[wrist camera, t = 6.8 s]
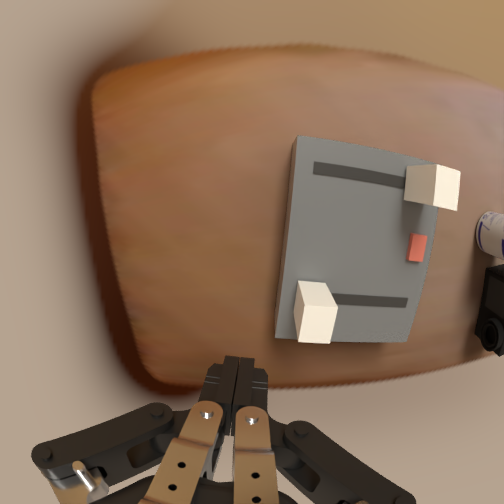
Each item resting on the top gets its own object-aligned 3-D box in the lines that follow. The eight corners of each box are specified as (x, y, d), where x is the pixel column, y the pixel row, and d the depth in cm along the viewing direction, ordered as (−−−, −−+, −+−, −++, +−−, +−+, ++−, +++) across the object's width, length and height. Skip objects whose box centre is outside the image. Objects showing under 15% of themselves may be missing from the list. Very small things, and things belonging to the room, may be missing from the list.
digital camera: (480, 268, 28) (512, 285, 21) (503, 262, 27) (534, 278, 20) (468, 335, 30) (493, 360, 23) (491, 327, 29) (516, 348, 23)
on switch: (428, 171, 21) (460, 171, 16) (425, 204, 21) (456, 210, 16) (406, 166, 21) (436, 164, 16) (403, 199, 21) (433, 205, 17)
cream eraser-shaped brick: (325, 282, 24) (338, 307, 19) (319, 314, 24) (329, 343, 19) (298, 280, 24) (304, 305, 19) (293, 312, 24) (298, 342, 20)
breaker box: (417, 166, 25) (445, 165, 20) (390, 320, 30) (408, 344, 24) (292, 143, 26) (298, 134, 20) (274, 314, 30) (275, 341, 25)
